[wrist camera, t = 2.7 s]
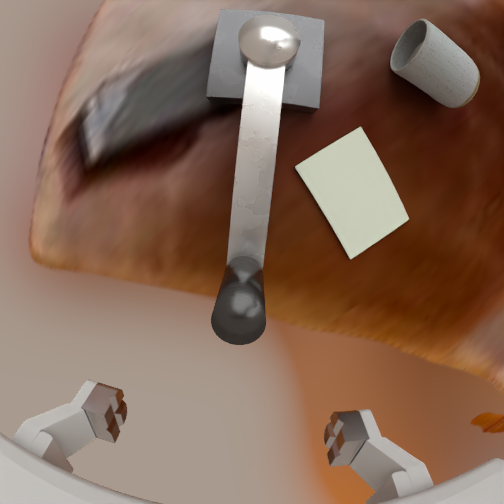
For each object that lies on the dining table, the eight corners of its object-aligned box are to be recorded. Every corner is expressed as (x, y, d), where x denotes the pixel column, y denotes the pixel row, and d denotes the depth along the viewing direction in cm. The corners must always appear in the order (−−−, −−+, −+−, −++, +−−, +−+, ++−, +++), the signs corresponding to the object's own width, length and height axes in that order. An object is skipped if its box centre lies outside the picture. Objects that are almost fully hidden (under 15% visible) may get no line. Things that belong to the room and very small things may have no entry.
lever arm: (243, 27, 20) (236, -37, 10) (297, 33, 20) (318, -29, 10) (216, 282, 27) (195, 344, 17) (269, 288, 27) (276, 353, 17)
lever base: (223, 20, 22) (220, 9, 19) (319, 30, 22) (324, 20, 19) (210, 102, 24) (205, 96, 22) (313, 113, 25) (318, 108, 22)
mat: (294, 166, 26) (295, 166, 26) (359, 127, 25) (360, 126, 24) (349, 258, 29) (350, 259, 28) (407, 218, 27) (409, 219, 27)
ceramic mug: (441, 116, 24) (483, 108, 16) (383, 79, 23) (419, 57, 16) (452, 53, 21) (488, 36, 14) (399, 17, 20) (429, -10, 13)
